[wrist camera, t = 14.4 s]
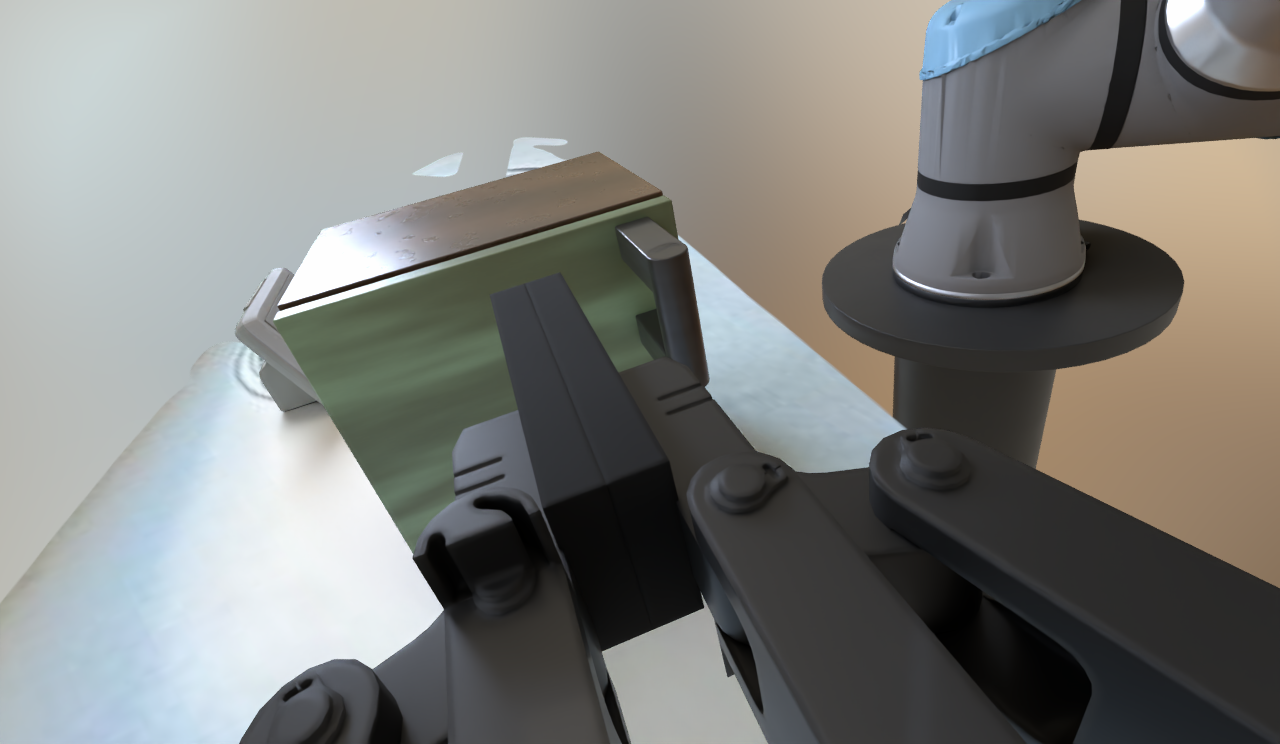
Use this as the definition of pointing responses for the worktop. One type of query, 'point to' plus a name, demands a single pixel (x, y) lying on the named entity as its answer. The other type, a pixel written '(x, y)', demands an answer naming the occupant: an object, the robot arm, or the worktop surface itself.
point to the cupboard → (462, 224)
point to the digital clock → (274, 344)
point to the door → (482, 343)
